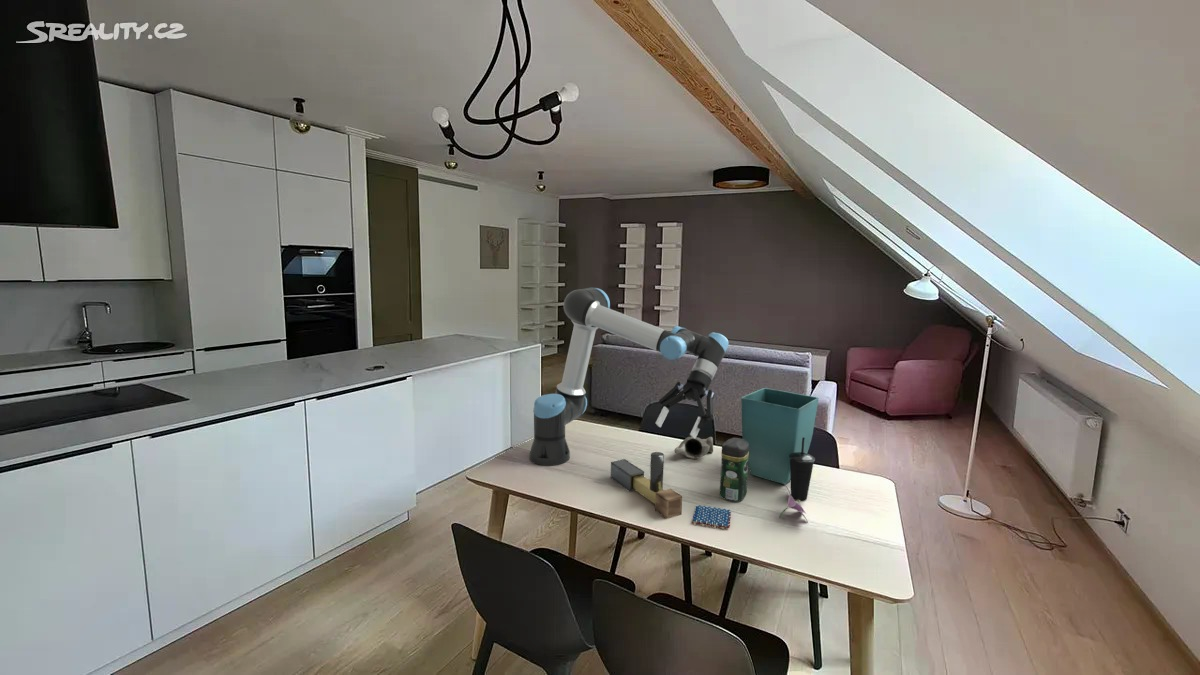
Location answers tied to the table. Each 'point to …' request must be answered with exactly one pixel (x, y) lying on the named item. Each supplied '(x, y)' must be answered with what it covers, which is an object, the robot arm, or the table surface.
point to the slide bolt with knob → (651, 478)
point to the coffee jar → (734, 469)
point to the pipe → (695, 447)
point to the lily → (793, 504)
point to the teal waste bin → (776, 430)
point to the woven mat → (711, 517)
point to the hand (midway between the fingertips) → (674, 431)
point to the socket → (668, 503)
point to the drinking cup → (800, 473)
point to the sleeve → (624, 473)
